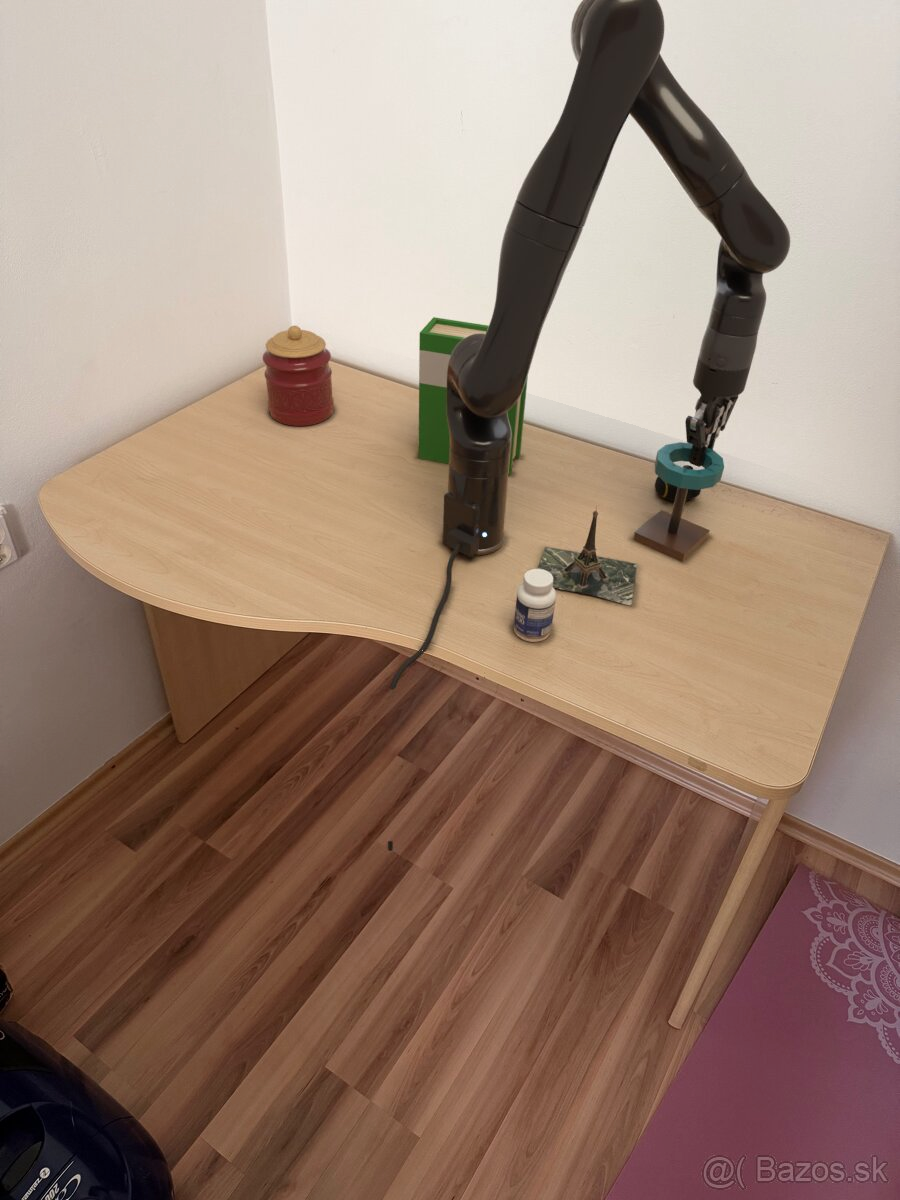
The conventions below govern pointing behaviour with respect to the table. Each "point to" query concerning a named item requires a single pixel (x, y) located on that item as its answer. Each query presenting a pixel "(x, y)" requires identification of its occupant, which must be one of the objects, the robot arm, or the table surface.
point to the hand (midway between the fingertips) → (699, 461)
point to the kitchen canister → (298, 378)
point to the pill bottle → (535, 606)
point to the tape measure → (672, 490)
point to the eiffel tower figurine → (590, 571)
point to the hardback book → (433, 389)
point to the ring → (688, 476)
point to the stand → (672, 530)
